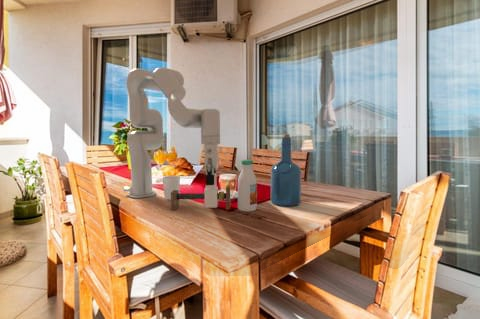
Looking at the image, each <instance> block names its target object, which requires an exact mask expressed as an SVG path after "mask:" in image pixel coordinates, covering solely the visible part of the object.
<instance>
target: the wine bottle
mask: <svg viewBox="0 0 480 319" xmlns="http://www.w3.org/2000/svg"><path fill="white" fill-rule="evenodd" d="M280 145H281V153H280V154H281V156H280V157H281V158H280V161H278V162H276V163H275V164H273V165H272V167H271V169H270V202H271V203H272V204H274V205H276V206H280V207H293V206H297V205H299V204H301V203H302V178H303V177H302V171H303V170H302V169H301V167H300V165H298V164H297V163H295V162H293V160H292V137H291V136H290V133H284V134H283V136H282V138H281V144H280Z"/></svg>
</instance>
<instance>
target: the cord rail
mask: <svg viewBox="0 0 480 319" xmlns="http://www.w3.org/2000/svg"><path fill="white" fill-rule="evenodd" d="M225 186H226V187H225V192H224V191H218V193H217V199H218V202H219V201H225V210H227V211H229V210H228V209H230V210H231V185H230V184H227V185H225ZM180 200H205V196H204V192H197V193H196V192H194V193H193V192H191V193H190V192H187V193H183V192H182V193H181V192H179V190H173V191H172V192H171V200H170V208H171V211H177V210H178V209H179V207H180Z"/></svg>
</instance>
